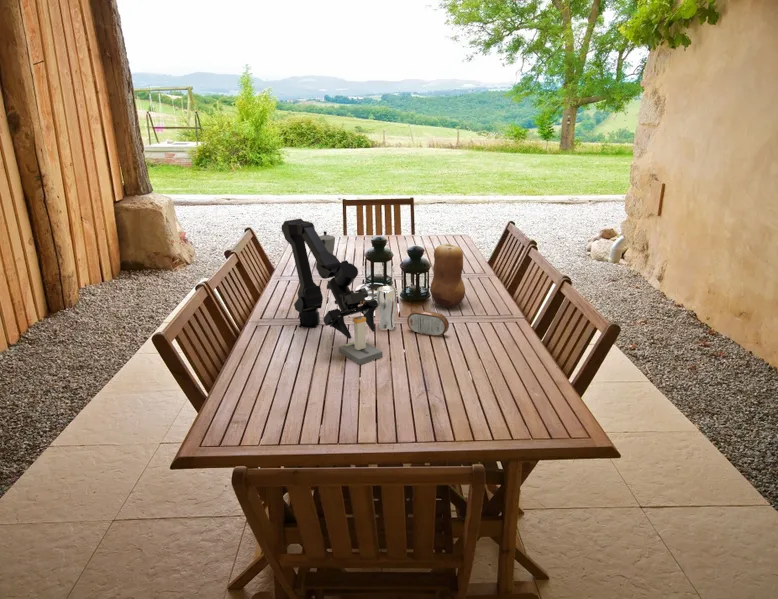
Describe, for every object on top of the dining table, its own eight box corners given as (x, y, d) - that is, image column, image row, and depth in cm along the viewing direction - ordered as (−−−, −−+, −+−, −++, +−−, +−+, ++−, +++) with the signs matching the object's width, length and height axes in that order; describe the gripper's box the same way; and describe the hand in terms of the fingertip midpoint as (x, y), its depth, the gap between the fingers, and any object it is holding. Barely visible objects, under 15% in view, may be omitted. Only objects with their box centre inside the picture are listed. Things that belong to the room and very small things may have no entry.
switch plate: (338, 352, 192) (338, 346, 191) (361, 345, 197) (361, 339, 197) (359, 364, 183) (359, 358, 182) (382, 357, 188) (382, 350, 188)
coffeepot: (319, 263, 290) (317, 228, 283) (338, 263, 289) (336, 228, 283) (314, 272, 275) (312, 235, 269) (334, 272, 275) (332, 235, 269)
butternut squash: (466, 301, 237) (468, 241, 228) (462, 312, 224) (464, 250, 216) (432, 298, 240) (433, 239, 231) (427, 310, 227) (428, 248, 219)
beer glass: (394, 332, 207) (394, 292, 202) (375, 330, 209) (374, 291, 204) (398, 324, 214) (397, 286, 209) (379, 323, 215) (378, 285, 210)
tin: (448, 335, 204) (449, 313, 201) (445, 339, 201) (446, 316, 198) (409, 329, 210) (409, 307, 207) (406, 332, 207) (406, 310, 204)
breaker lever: (353, 348, 189) (352, 318, 186) (362, 345, 191) (361, 315, 188) (357, 350, 187) (356, 320, 184) (366, 347, 190) (366, 317, 186)
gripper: (326, 287, 179) (347, 331, 175) (374, 275, 190) (395, 316, 186) (314, 304, 188) (334, 346, 184) (361, 292, 199) (381, 331, 194)
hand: (362, 334), depth 187 cm, fingers open, 9 cm apart
